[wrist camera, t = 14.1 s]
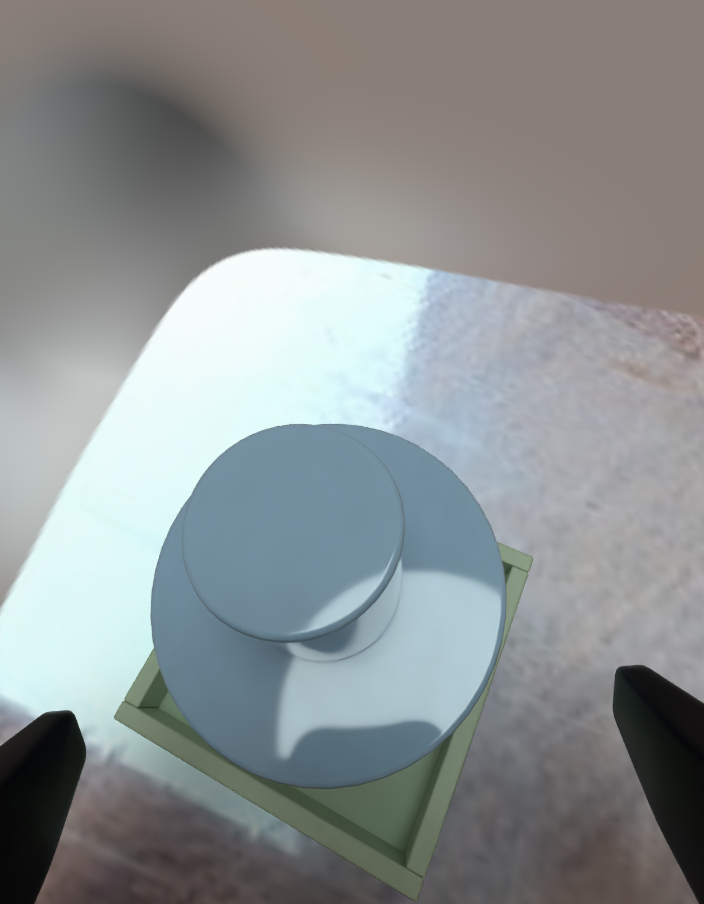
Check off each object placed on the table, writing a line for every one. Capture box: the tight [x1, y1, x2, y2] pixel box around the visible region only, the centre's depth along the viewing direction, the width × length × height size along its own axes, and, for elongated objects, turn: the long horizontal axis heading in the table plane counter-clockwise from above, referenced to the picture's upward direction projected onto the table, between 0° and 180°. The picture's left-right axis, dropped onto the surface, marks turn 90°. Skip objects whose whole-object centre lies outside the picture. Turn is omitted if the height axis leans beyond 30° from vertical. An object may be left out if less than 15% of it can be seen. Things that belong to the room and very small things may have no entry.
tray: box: [114, 542, 533, 901], centre depth 16 cm, size 9×9×2 cm
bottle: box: [151, 424, 507, 789], centre depth 11 cm, size 6×6×12 cm
